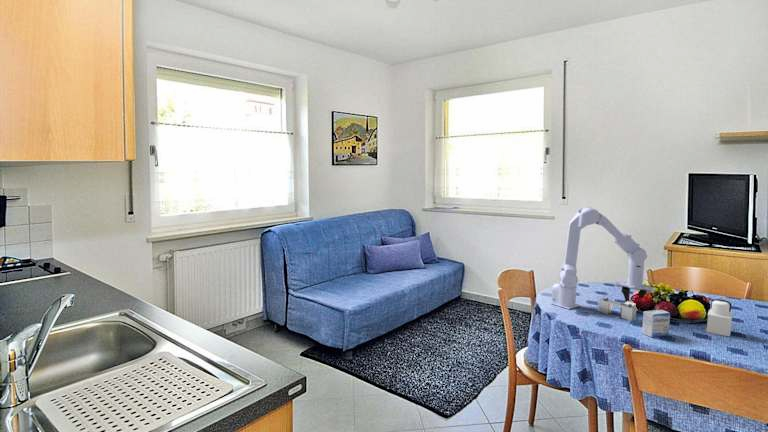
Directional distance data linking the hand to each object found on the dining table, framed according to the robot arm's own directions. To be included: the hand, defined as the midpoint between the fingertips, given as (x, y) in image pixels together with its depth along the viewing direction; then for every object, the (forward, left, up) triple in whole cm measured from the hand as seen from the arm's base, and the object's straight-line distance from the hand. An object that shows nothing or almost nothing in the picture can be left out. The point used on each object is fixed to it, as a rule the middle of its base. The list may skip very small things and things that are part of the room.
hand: (633, 305), depth 195 cm
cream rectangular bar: (+1, -3, -2) cm, 4 cm away
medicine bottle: (+31, +1, -2) cm, 31 cm away
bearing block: (0, -13, -2) cm, 13 cm away
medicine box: (+19, -21, -2) cm, 28 cm away
